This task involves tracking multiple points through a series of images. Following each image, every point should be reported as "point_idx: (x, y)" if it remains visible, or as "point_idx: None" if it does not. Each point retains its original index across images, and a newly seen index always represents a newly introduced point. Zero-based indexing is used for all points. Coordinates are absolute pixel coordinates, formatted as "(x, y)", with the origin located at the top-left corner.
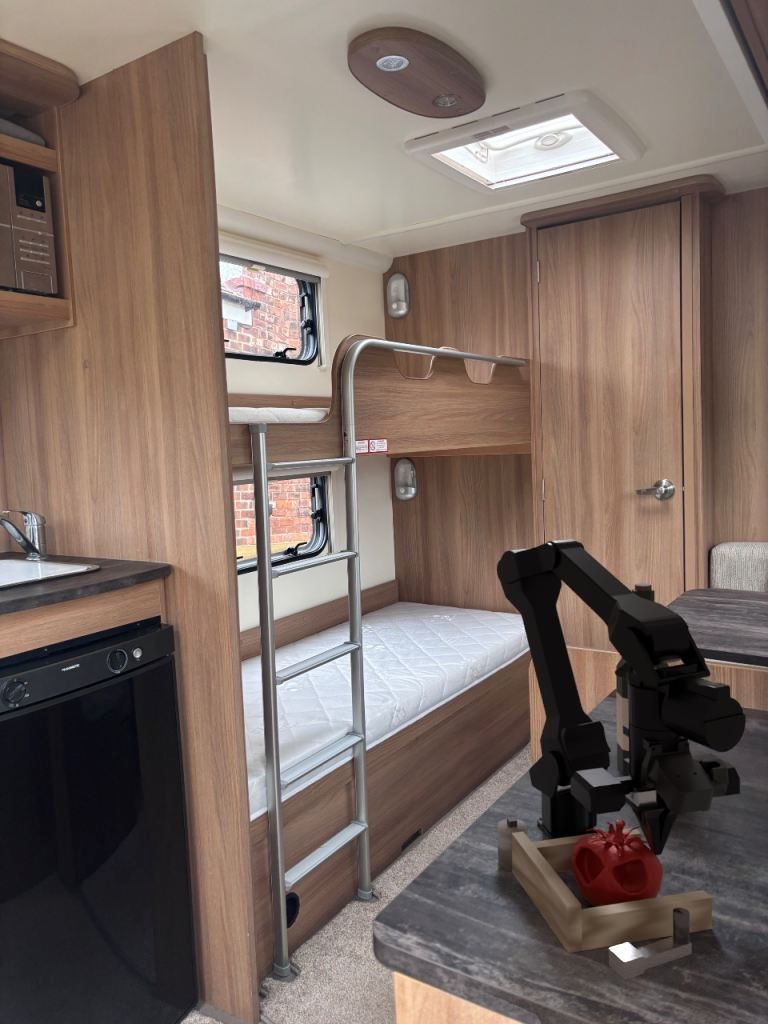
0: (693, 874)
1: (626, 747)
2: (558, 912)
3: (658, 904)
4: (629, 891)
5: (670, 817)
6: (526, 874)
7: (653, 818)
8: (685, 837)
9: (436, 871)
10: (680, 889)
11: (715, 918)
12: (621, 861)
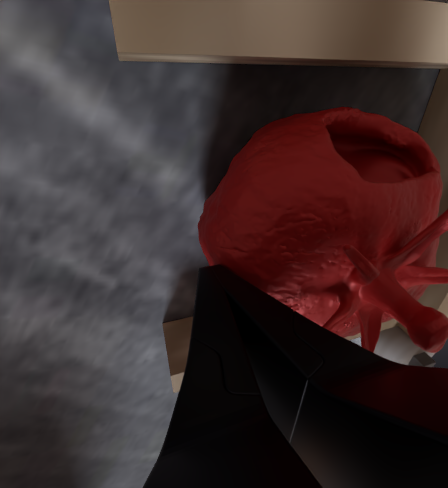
0: (57, 278)
1: None
2: None
3: (341, 7)
4: (358, 125)
5: (226, 396)
6: None
7: (344, 368)
8: (22, 400)
9: None
10: (121, 221)
11: (71, 63)
12: (422, 182)
